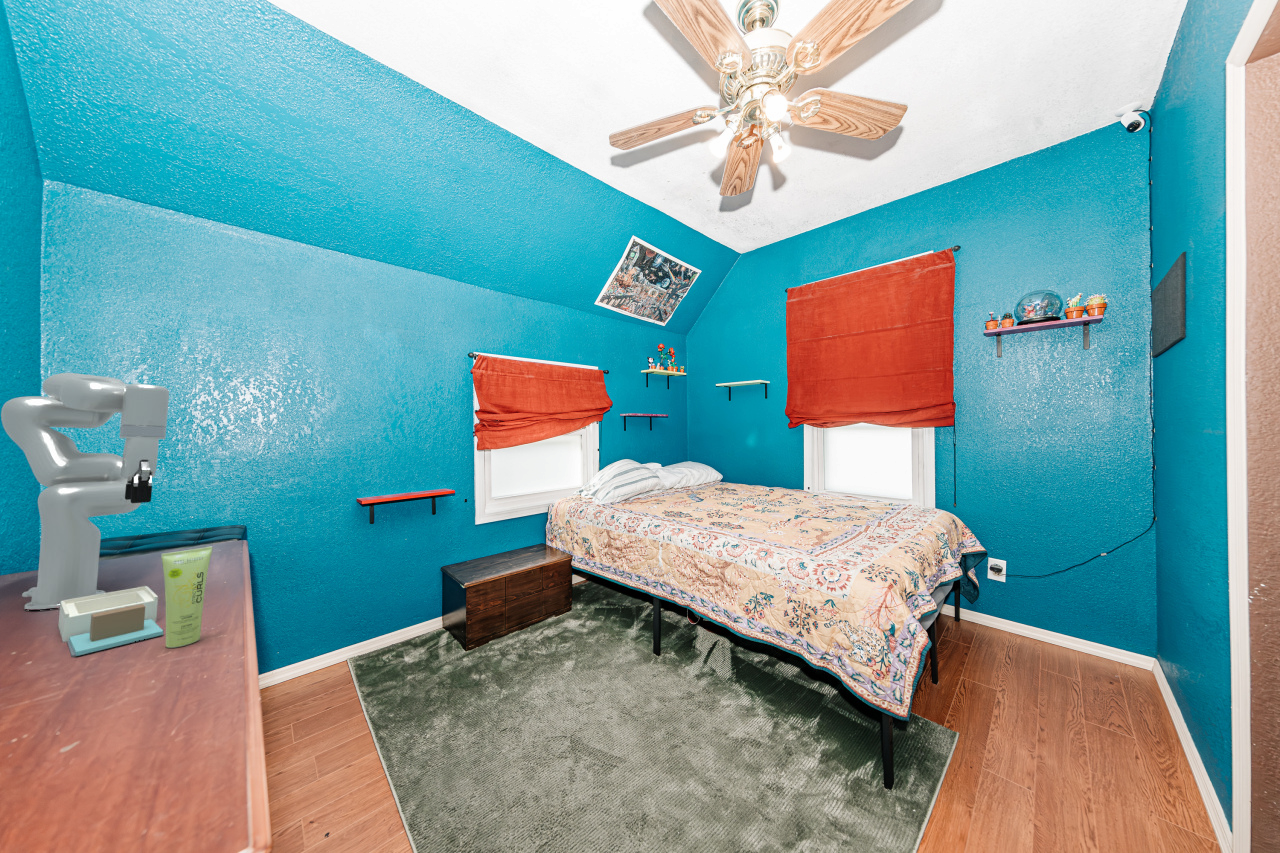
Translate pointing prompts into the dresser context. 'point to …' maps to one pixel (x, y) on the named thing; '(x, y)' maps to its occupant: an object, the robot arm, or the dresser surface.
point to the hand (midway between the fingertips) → (137, 500)
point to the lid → (115, 630)
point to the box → (102, 608)
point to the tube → (184, 594)
